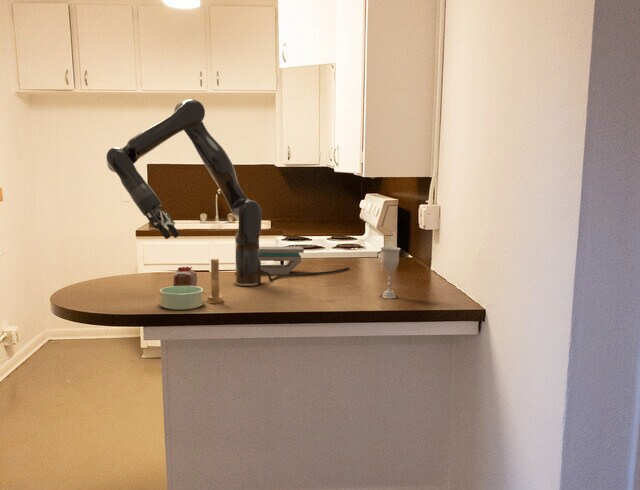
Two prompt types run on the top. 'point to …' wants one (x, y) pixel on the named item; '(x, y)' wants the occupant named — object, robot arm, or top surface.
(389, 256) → the chalice
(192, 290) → the bowl
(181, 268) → the food item
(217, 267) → the wooden bolt
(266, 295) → the top surface
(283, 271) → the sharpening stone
